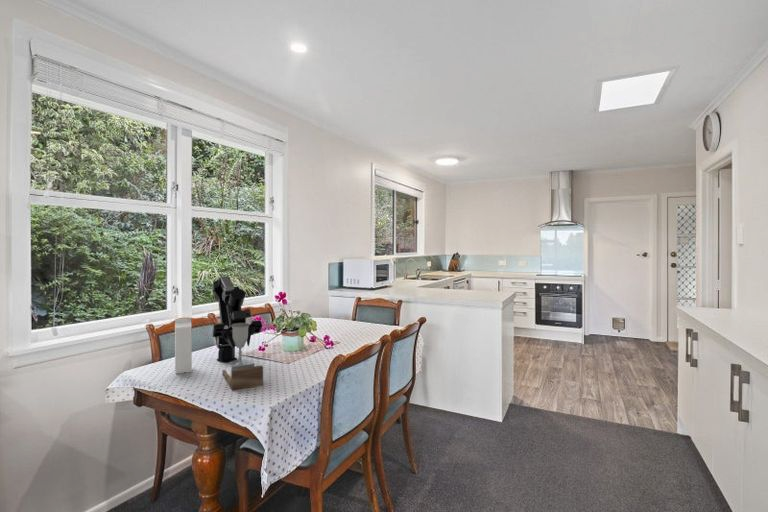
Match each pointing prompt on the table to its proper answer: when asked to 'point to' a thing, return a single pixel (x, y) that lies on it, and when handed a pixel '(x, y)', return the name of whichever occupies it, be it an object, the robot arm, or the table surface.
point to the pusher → (242, 366)
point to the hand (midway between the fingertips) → (240, 346)
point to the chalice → (240, 337)
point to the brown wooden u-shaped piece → (244, 377)
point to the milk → (183, 345)
